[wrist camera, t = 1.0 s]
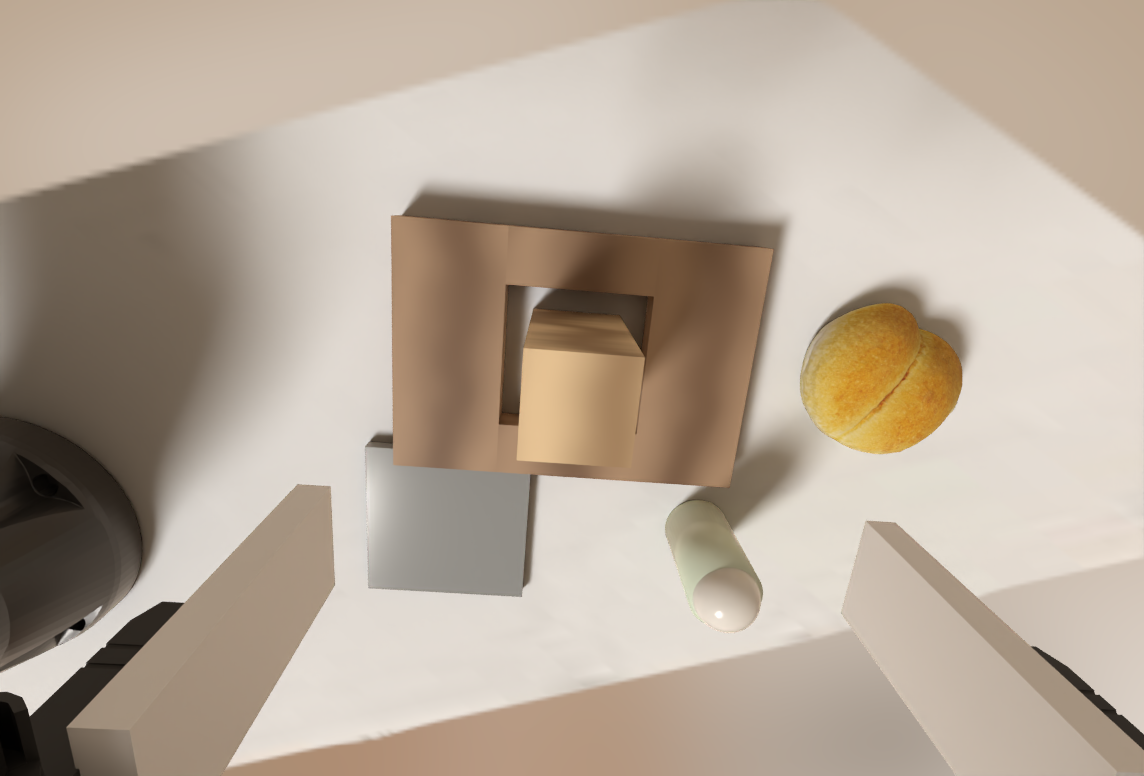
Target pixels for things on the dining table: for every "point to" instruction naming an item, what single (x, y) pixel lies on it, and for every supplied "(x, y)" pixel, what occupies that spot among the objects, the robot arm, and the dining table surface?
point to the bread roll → (879, 380)
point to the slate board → (444, 527)
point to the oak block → (579, 390)
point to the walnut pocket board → (587, 263)
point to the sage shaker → (713, 567)
